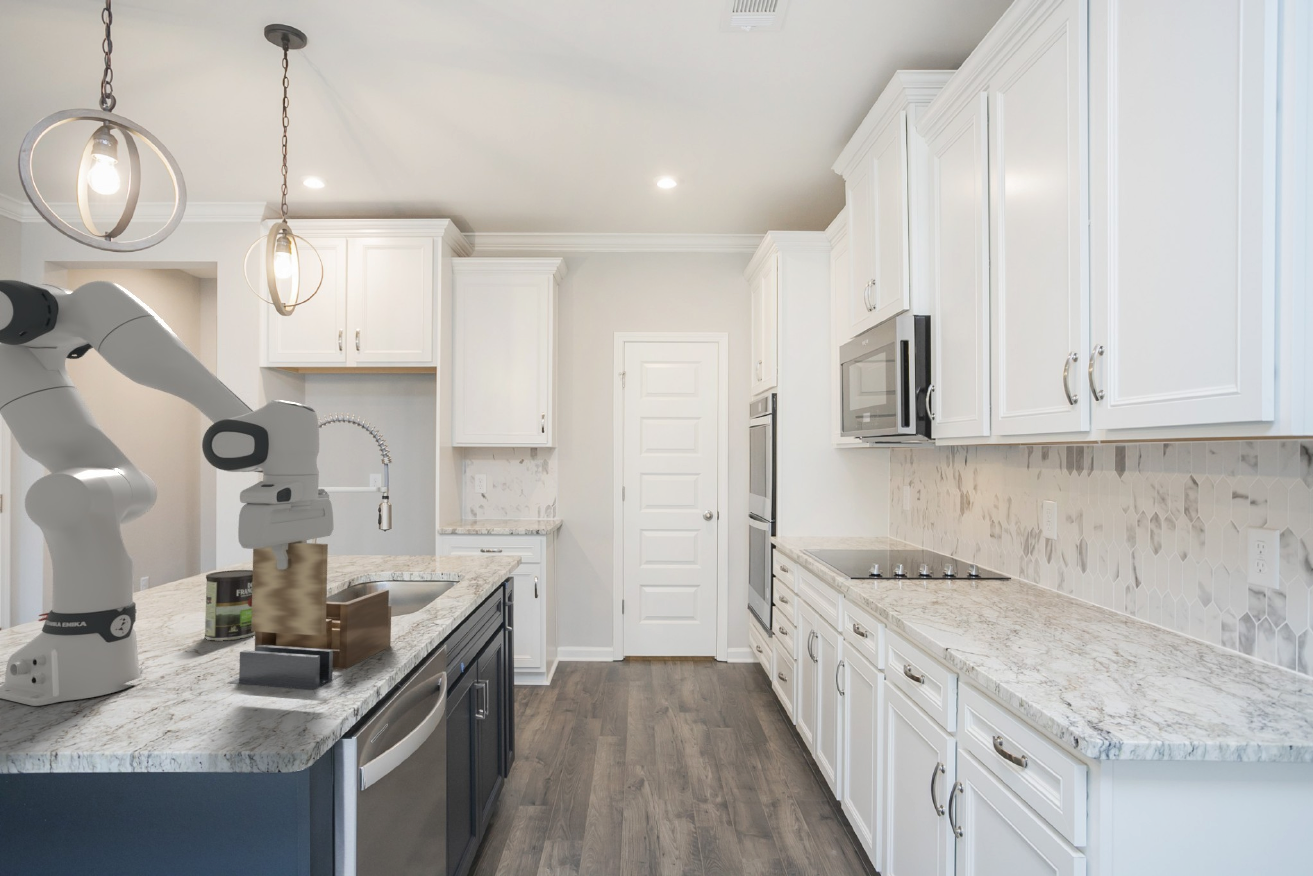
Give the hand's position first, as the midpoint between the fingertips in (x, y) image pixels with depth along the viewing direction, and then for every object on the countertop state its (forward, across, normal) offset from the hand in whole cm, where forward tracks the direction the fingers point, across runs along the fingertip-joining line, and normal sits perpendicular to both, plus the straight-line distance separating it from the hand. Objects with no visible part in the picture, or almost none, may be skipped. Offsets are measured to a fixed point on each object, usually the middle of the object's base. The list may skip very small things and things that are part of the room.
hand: (289, 567), depth 122 cm
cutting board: (+12, 0, 0) cm, 12 cm away
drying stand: (+21, 0, 0) cm, 21 cm away
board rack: (+21, -15, -3) cm, 26 cm away
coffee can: (+22, -28, -36) cm, 50 cm away
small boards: (+20, -12, -3) cm, 23 cm away
